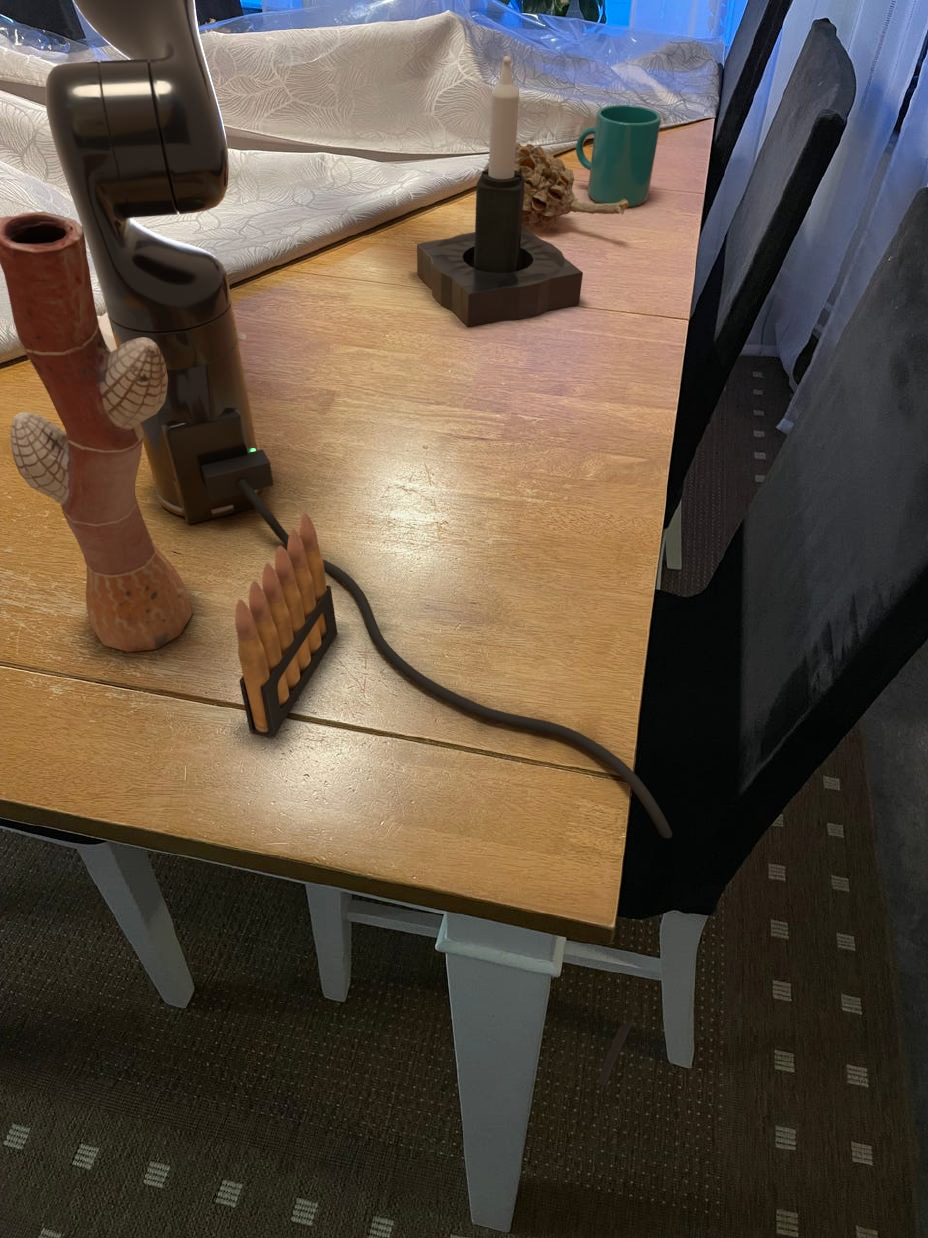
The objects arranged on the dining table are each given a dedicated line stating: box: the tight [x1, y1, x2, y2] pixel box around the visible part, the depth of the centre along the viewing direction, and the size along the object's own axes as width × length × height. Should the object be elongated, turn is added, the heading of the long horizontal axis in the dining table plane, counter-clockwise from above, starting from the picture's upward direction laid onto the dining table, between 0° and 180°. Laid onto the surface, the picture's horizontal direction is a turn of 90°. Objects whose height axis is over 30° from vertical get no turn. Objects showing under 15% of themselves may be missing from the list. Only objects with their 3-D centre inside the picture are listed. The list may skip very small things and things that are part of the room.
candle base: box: [416, 225, 584, 328], centre depth 107 cm, size 16×16×4 cm
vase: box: [0, 211, 193, 653], centre depth 56 cm, size 10×7×30 cm
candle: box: [474, 55, 525, 273], centre depth 100 cm, size 5×5×25 cm
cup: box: [575, 104, 662, 208], centre depth 128 cm, size 9×12×11 cm
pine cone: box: [481, 142, 629, 230], centre depth 119 cm, size 22×10×10 cm, turn 65°
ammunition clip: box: [234, 512, 338, 738], centre depth 59 cm, size 11×2×12 cm, turn 162°
